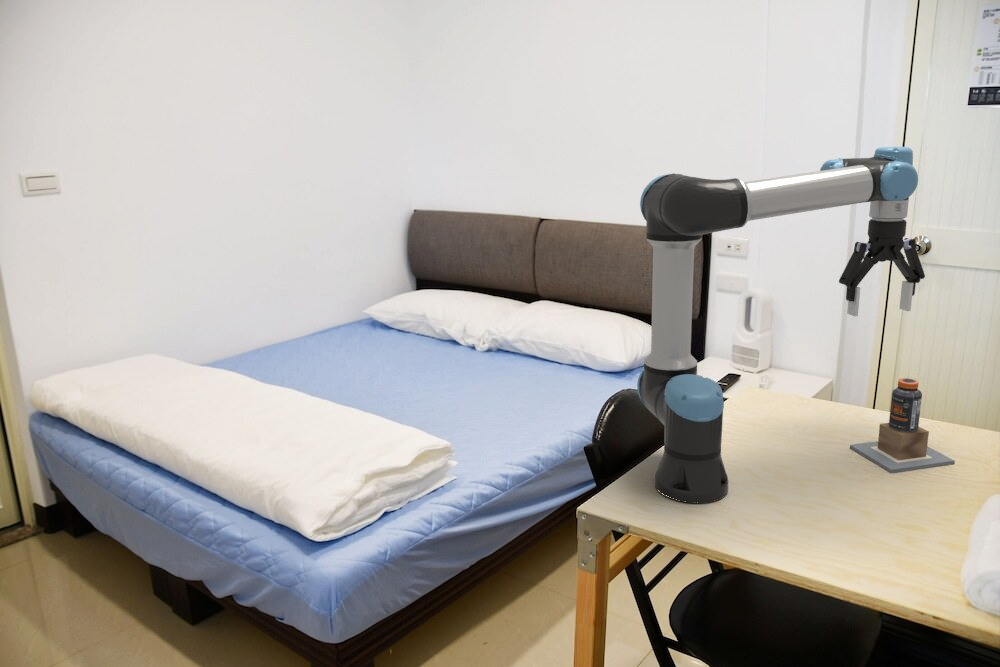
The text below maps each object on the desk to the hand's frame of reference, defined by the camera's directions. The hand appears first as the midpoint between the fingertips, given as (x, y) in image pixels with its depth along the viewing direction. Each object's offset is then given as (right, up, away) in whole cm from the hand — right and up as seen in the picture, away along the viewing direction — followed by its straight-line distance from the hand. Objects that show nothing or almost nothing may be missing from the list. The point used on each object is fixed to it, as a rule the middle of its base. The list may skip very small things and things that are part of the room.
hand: (878, 312), depth 177 cm
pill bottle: (+5, -26, -2) cm, 27 cm away
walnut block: (+5, -32, 0) cm, 32 cm away
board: (+5, -33, 0) cm, 33 cm away
